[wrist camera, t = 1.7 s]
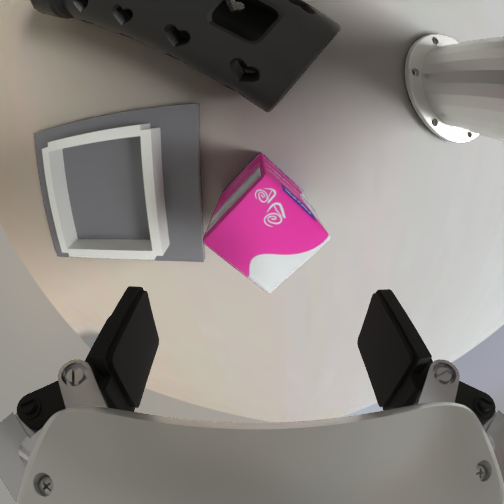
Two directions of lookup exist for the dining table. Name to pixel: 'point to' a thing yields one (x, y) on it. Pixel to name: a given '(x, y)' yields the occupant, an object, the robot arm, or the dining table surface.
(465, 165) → the dining table surface
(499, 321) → the dining table surface
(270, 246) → the supplement box
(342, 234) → the dining table surface
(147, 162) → the socket plate
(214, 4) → the muzzle brake
